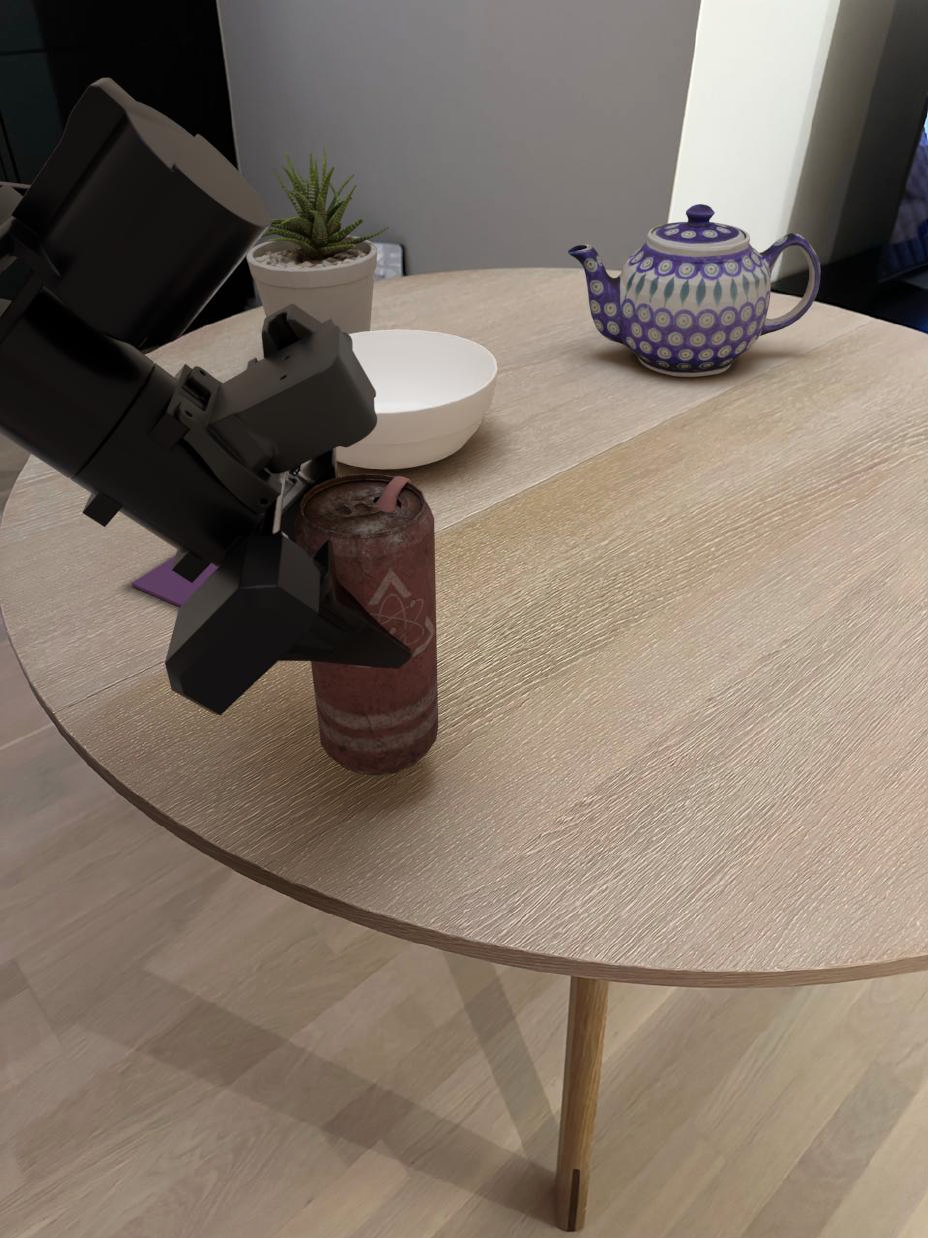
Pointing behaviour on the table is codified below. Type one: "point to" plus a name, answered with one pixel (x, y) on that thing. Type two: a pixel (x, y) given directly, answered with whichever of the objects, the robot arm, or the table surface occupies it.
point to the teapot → (692, 294)
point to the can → (378, 619)
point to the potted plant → (317, 258)
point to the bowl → (420, 396)
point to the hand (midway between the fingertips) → (403, 625)
